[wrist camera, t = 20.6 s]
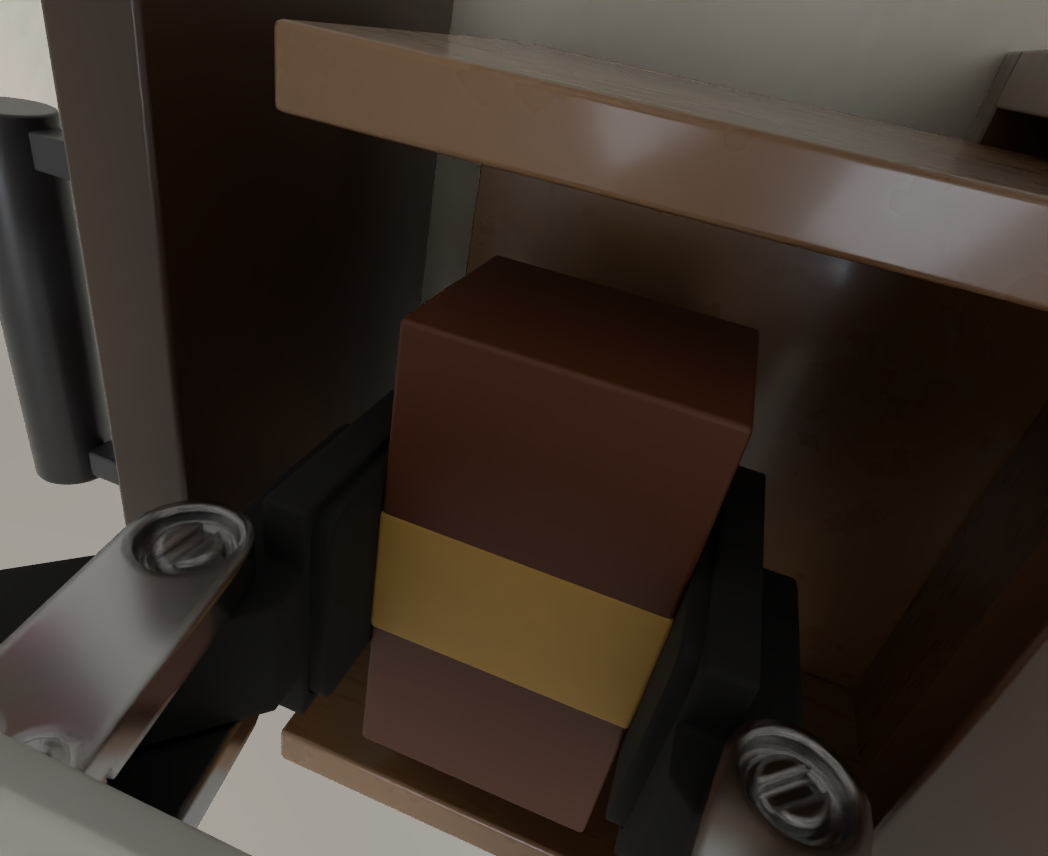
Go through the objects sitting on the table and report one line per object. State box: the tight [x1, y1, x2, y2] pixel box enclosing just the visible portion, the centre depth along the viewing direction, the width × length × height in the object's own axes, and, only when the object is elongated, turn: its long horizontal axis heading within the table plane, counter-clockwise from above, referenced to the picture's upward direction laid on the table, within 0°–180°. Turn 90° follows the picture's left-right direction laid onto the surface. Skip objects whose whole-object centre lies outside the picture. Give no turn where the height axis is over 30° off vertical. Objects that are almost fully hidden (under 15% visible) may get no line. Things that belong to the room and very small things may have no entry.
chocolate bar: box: [363, 255, 759, 832], centre depth 9 cm, size 4×7×3 cm, turn 169°
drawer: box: [0, 0, 1048, 856], centre depth 12 cm, size 18×13×7 cm
